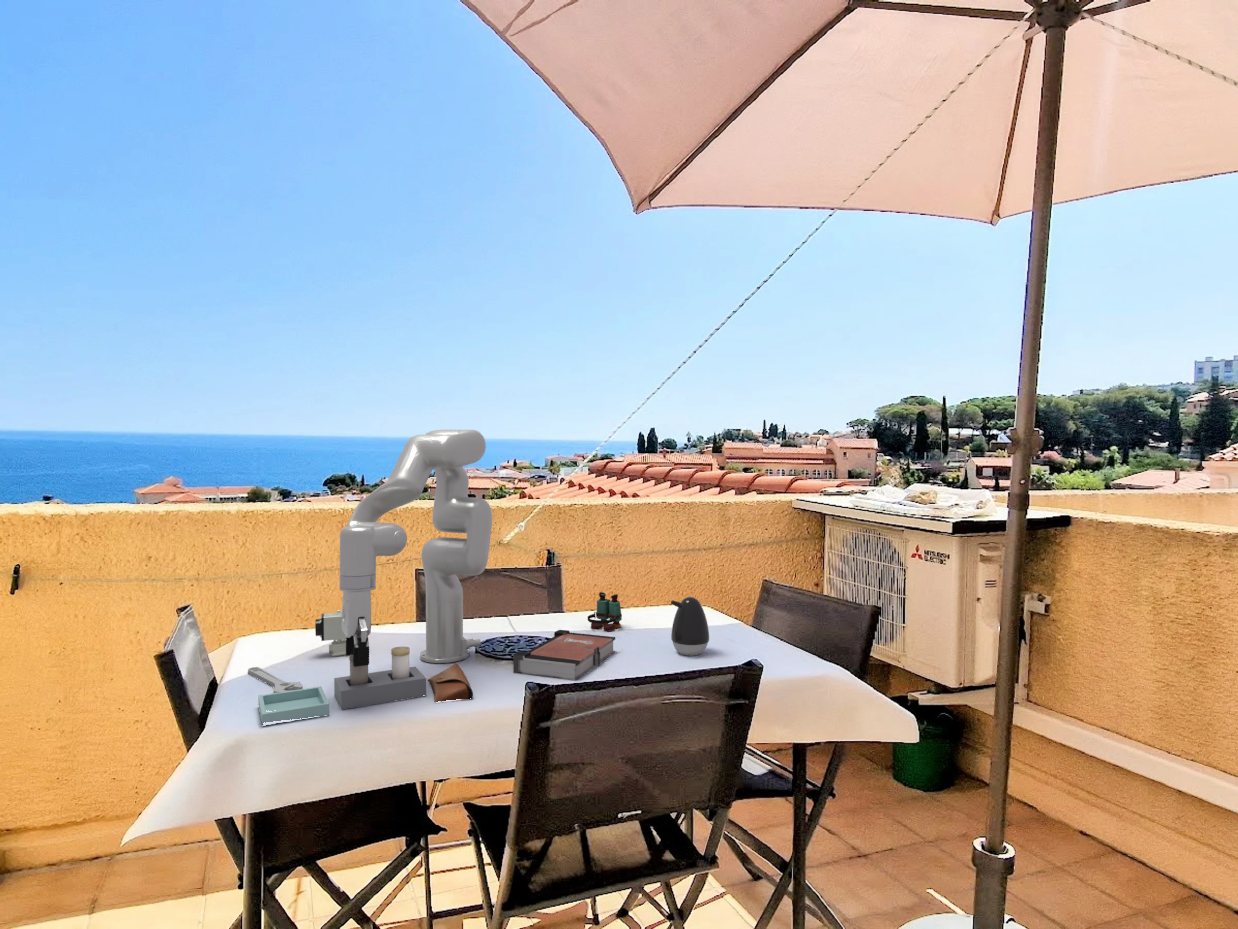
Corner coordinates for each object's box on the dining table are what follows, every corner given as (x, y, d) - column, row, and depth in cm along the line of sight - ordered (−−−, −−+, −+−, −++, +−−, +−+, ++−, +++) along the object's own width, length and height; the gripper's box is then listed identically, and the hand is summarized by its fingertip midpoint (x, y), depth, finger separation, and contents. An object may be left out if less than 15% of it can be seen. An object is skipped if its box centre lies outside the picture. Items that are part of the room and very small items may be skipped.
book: (578, 683, 177) (578, 662, 177) (513, 674, 183) (513, 654, 183) (617, 653, 201) (617, 635, 201) (559, 647, 207) (559, 629, 207)
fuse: (407, 688, 171) (407, 645, 171) (411, 694, 167) (411, 650, 167) (389, 691, 169) (389, 648, 169) (393, 696, 166) (393, 652, 165)
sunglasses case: (424, 679, 178) (439, 654, 179) (450, 691, 180) (464, 666, 181) (434, 704, 161) (450, 676, 162) (462, 716, 163) (478, 689, 164)
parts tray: (321, 697, 165) (321, 686, 165) (329, 715, 154) (329, 703, 154) (258, 707, 159) (258, 695, 159) (262, 726, 148) (261, 714, 148)
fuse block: (415, 683, 175) (415, 666, 175) (426, 696, 166) (426, 678, 166) (334, 695, 166) (334, 678, 166) (341, 710, 157) (341, 691, 157)
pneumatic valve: (363, 654, 198) (362, 610, 198) (315, 659, 194) (315, 613, 194) (362, 649, 203) (362, 606, 203) (316, 653, 199) (315, 609, 199)
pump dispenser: (667, 648, 205) (667, 593, 204) (704, 647, 206) (705, 592, 205) (673, 659, 195) (673, 601, 194) (712, 658, 196) (713, 600, 195)
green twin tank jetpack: (582, 598, 224) (600, 590, 232) (584, 632, 225) (602, 622, 233) (607, 602, 219) (624, 593, 227) (609, 636, 220) (626, 626, 228)
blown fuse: (367, 695, 167) (366, 651, 166) (370, 700, 163) (370, 655, 163) (348, 698, 165) (347, 653, 164) (351, 703, 161) (350, 658, 161)
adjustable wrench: (245, 674, 183) (245, 667, 183) (273, 669, 187) (273, 662, 187) (278, 700, 164) (277, 692, 164) (307, 694, 168) (307, 686, 168)
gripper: (333, 578, 169) (333, 653, 169) (346, 589, 154) (345, 672, 154) (368, 575, 172) (367, 649, 172) (383, 587, 157) (382, 667, 157)
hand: (357, 660), depth 163 cm, fingers open, 9 cm apart
